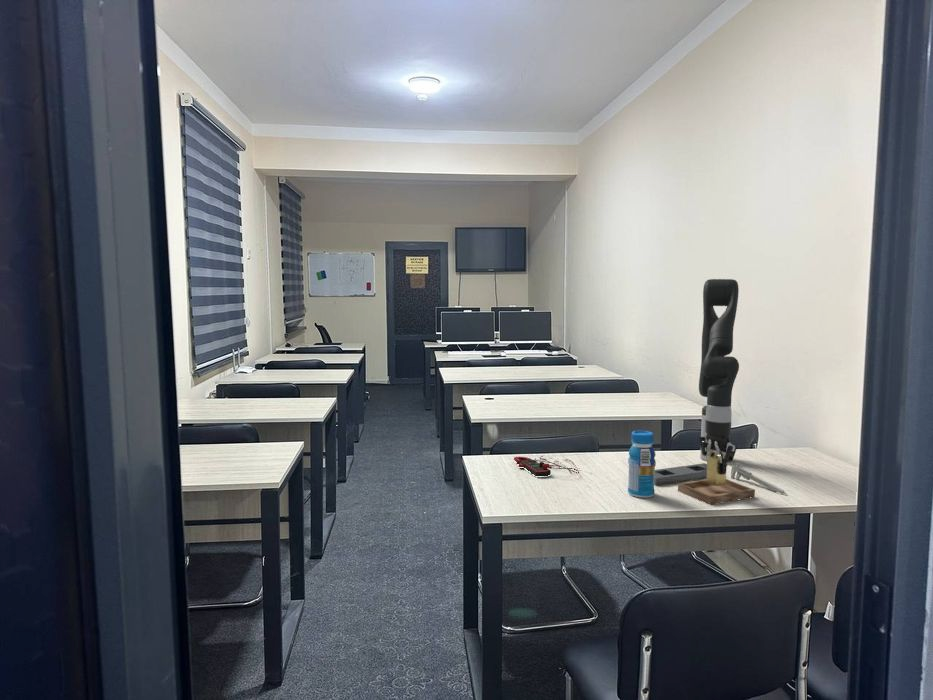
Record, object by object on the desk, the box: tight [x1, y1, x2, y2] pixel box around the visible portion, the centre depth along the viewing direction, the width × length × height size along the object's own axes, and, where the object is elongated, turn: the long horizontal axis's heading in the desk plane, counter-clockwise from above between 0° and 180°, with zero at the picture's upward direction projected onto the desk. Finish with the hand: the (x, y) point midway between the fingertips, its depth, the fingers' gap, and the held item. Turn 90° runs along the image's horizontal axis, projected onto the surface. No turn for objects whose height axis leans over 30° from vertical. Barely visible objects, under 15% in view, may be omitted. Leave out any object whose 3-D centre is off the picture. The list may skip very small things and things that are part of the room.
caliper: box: [730, 461, 787, 496], centre depth 199 cm, size 20×1×6 cm, turn 28°
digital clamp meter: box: [513, 455, 580, 477], centre depth 220 cm, size 23×4×25 cm
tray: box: [677, 478, 756, 505], centre depth 191 cm, size 18×14×2 cm
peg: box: [705, 455, 727, 486], centre depth 191 cm, size 4×4×8 cm
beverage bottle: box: [627, 430, 657, 499], centre depth 191 cm, size 8×8×20 cm
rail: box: [654, 462, 707, 487], centre depth 209 cm, size 28×8×2 cm, turn 112°
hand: (716, 471), depth 191 cm, fingers closed on peg, 4 cm apart
